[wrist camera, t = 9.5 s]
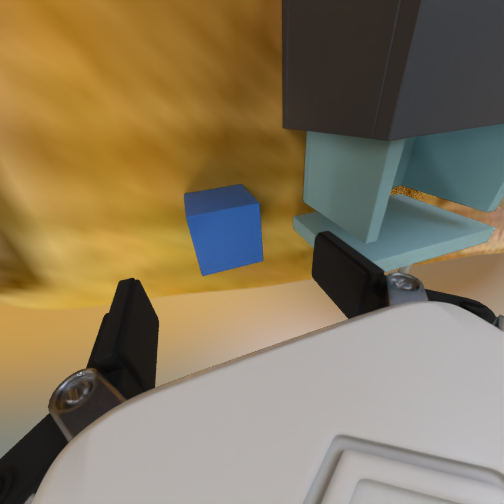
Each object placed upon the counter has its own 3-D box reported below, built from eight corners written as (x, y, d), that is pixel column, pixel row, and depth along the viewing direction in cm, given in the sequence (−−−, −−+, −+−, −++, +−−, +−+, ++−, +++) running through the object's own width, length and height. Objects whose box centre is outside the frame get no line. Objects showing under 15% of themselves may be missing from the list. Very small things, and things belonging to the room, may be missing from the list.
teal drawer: (382, 252, 25) (452, 298, 19) (291, 276, 23) (336, 339, 16) (456, 10, 14) (682, -73, 8) (298, 11, 12) (437, -104, 6)
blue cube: (241, 183, 17) (259, 202, 13) (247, 233, 19) (263, 261, 16) (183, 193, 16) (185, 216, 12) (196, 244, 18) (202, 276, 15)
